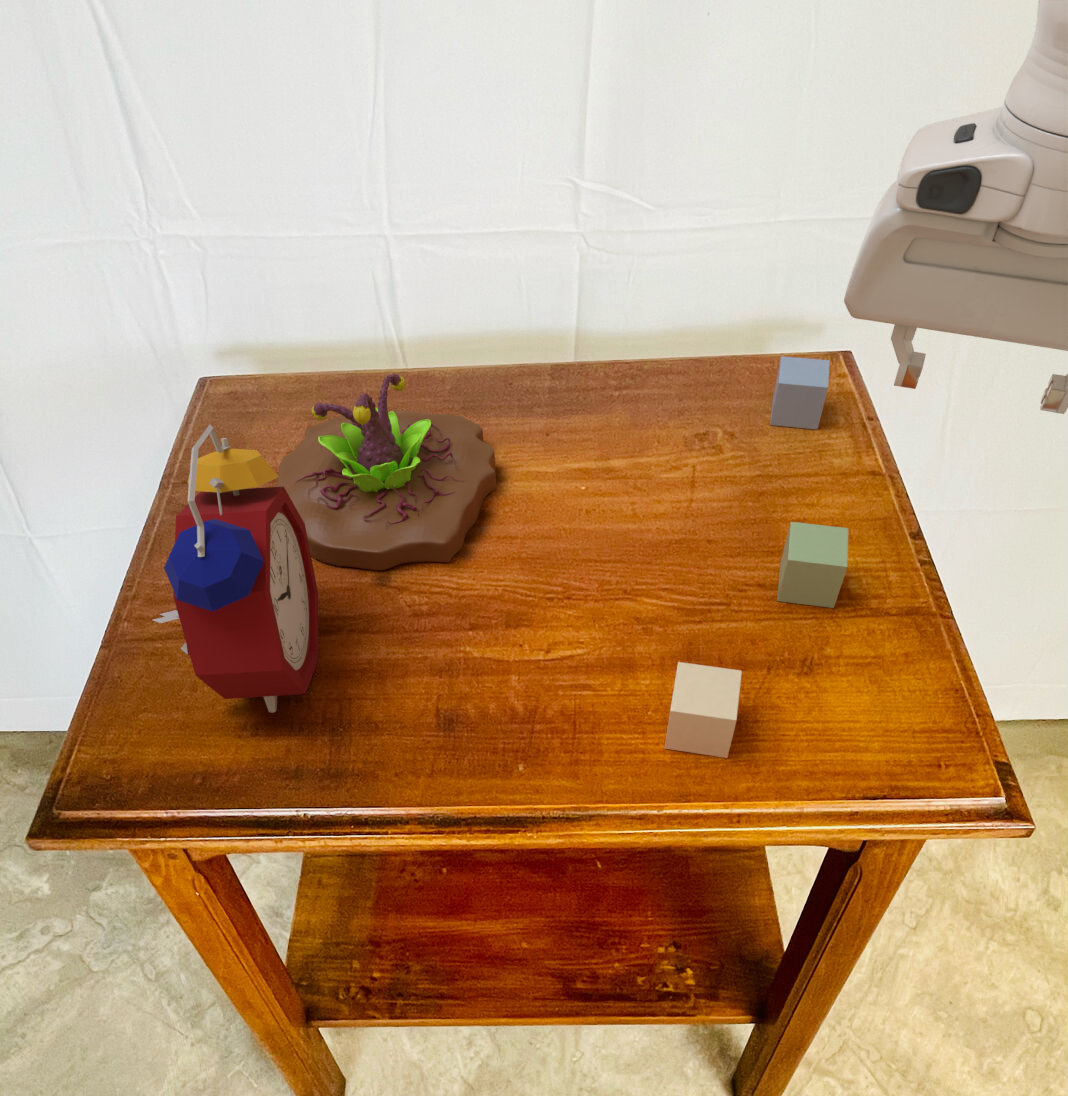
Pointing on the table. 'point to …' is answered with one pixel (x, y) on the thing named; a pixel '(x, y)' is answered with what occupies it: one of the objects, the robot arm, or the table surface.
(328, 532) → the plant
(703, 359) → the table surface
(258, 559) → the alarm clock
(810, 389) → the blue-grey block
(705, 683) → the cream block
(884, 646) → the table surface
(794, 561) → the sage block
